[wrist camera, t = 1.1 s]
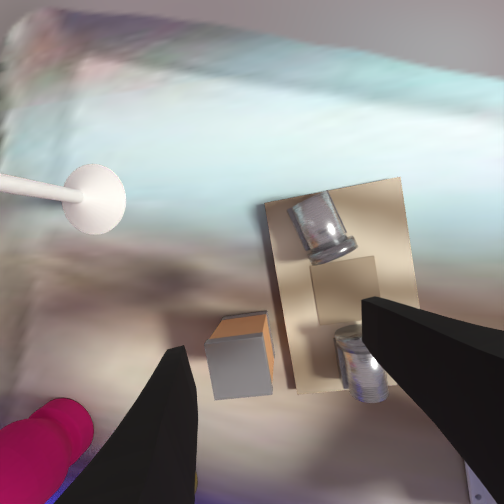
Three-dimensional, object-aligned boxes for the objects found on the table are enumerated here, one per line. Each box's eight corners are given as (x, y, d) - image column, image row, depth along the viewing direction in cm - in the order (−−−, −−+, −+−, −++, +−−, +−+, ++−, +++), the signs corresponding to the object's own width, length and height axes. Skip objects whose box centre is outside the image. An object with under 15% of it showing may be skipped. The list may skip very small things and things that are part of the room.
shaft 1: (346, 244, 22) (364, 246, 17) (308, 261, 23) (314, 268, 18) (324, 194, 22) (335, 183, 17) (285, 212, 23) (286, 206, 18)
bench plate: (425, 376, 22) (431, 382, 21) (296, 389, 23) (297, 395, 23) (395, 178, 21) (400, 176, 20) (265, 204, 23) (264, 202, 22)
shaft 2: (378, 369, 23) (404, 405, 18) (336, 373, 23) (350, 410, 18) (370, 317, 22) (394, 339, 18) (328, 322, 23) (340, 345, 18)
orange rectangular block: (274, 354, 24) (272, 394, 18) (231, 359, 24) (214, 400, 18) (267, 310, 23) (261, 336, 17) (223, 316, 24) (204, 344, 18)
